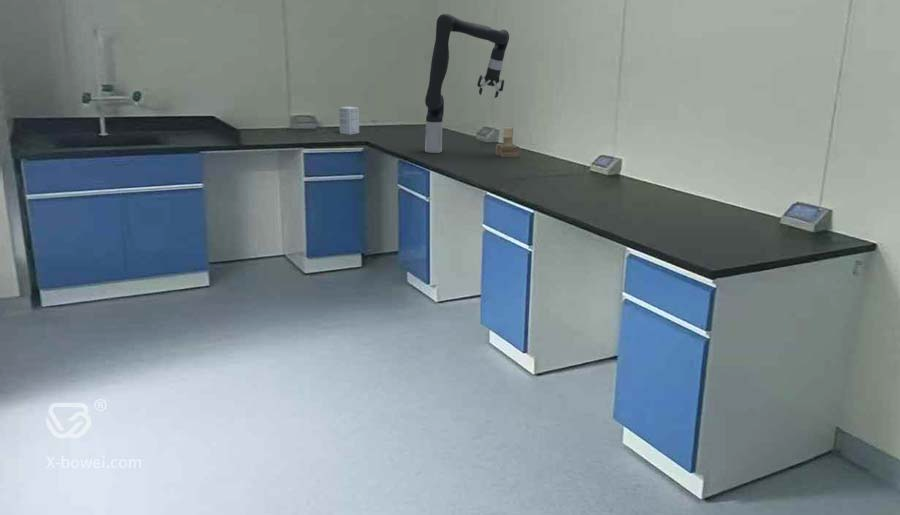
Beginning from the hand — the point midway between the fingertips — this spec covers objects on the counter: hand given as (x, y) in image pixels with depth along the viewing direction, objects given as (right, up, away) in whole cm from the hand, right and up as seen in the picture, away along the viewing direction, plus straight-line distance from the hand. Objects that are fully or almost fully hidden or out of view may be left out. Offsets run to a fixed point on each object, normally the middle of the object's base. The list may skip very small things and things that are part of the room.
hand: (487, 96), depth 409 cm
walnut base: (+11, -32, +6) cm, 35 cm away
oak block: (+11, -27, +5) cm, 29 cm away
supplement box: (-87, -8, +75) cm, 116 cm away
